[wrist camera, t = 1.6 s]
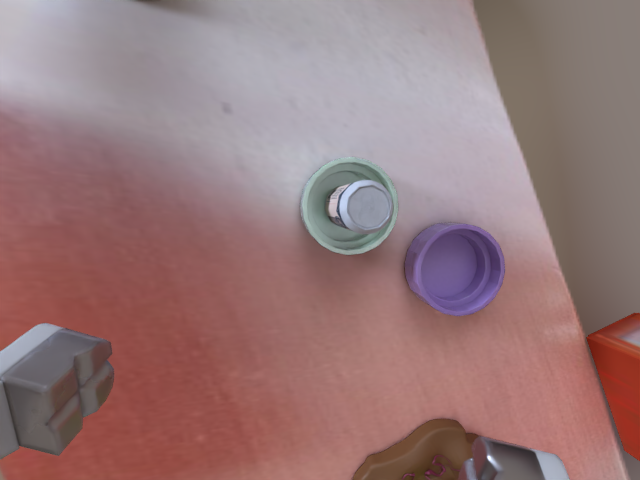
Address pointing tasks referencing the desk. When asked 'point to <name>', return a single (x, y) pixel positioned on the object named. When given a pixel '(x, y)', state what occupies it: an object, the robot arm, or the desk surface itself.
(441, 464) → the plant
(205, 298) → the desk surface
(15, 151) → the desk surface
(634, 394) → the red tall rectangular block
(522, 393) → the desk surface
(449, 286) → the lavender bowl
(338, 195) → the white cylindrical canister
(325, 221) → the celadon bowl
